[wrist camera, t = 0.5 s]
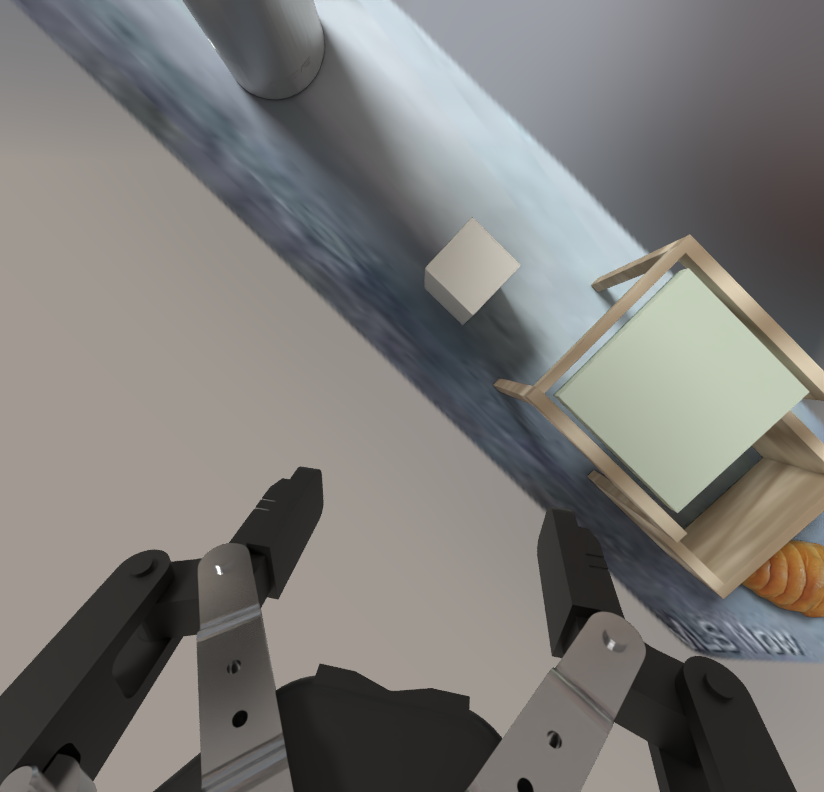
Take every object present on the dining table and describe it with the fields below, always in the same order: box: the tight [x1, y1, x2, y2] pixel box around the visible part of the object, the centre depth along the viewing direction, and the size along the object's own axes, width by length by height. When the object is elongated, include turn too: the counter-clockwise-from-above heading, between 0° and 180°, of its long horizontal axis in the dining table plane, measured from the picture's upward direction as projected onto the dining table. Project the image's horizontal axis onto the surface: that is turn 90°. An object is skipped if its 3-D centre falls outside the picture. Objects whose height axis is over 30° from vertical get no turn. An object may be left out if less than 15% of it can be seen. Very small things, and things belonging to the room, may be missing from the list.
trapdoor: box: [554, 268, 809, 513], centre depth 25 cm, size 11×11×1 cm
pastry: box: [741, 540, 824, 617], centre depth 36 cm, size 9×7×4 cm
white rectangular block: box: [425, 217, 521, 325], centre depth 32 cm, size 5×5×8 cm
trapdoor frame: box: [493, 235, 824, 599], centre depth 31 cm, size 24×14×12 cm, turn 46°
